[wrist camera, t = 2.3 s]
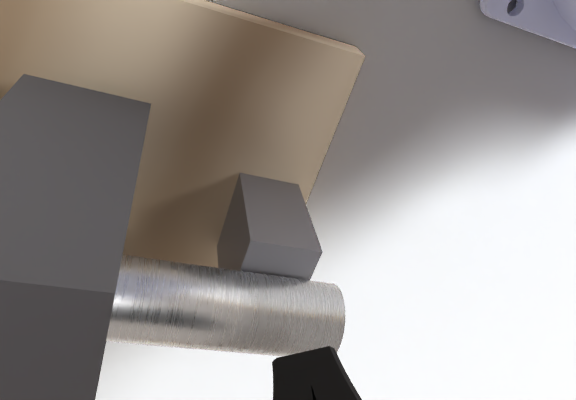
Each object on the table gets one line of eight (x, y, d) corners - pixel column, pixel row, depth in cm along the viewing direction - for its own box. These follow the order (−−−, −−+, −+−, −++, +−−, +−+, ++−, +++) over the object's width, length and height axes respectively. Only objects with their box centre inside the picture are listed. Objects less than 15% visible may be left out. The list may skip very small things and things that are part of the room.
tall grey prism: (151, 103, 12) (115, 293, 7) (113, 298, 16) (68, 537, 10) (23, 73, 12) (-145, 263, 6) (12, 287, 15) (-101, 542, 9)
